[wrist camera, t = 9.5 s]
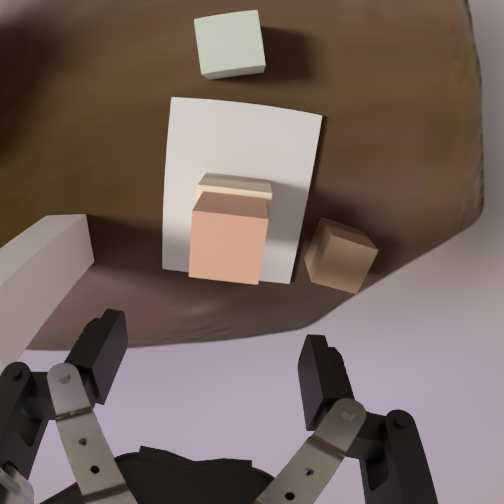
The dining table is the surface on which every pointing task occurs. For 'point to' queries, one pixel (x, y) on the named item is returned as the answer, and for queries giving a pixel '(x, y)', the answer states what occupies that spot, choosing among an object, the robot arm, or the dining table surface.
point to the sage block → (230, 45)
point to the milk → (39, 277)
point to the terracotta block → (228, 237)
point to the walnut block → (339, 256)
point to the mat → (239, 171)
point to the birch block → (235, 186)
